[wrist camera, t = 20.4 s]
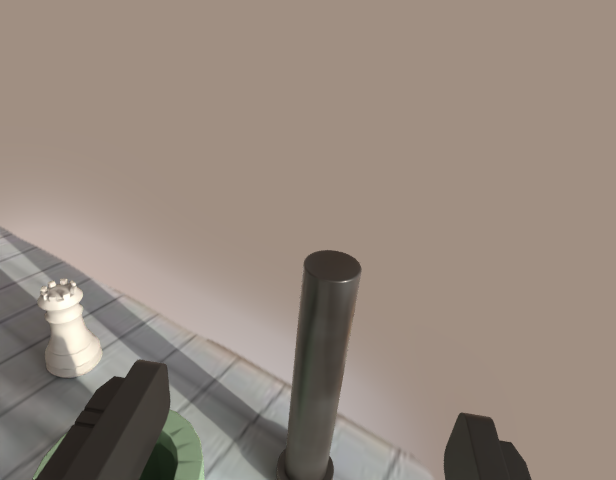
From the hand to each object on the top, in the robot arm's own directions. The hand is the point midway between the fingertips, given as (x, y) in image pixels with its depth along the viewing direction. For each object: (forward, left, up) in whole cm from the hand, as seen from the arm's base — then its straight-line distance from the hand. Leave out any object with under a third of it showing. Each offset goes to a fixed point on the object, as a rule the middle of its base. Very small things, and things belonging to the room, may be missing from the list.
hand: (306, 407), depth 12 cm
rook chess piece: (-24, +14, -20) cm, 34 cm away
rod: (-2, +11, -20) cm, 23 cm away
